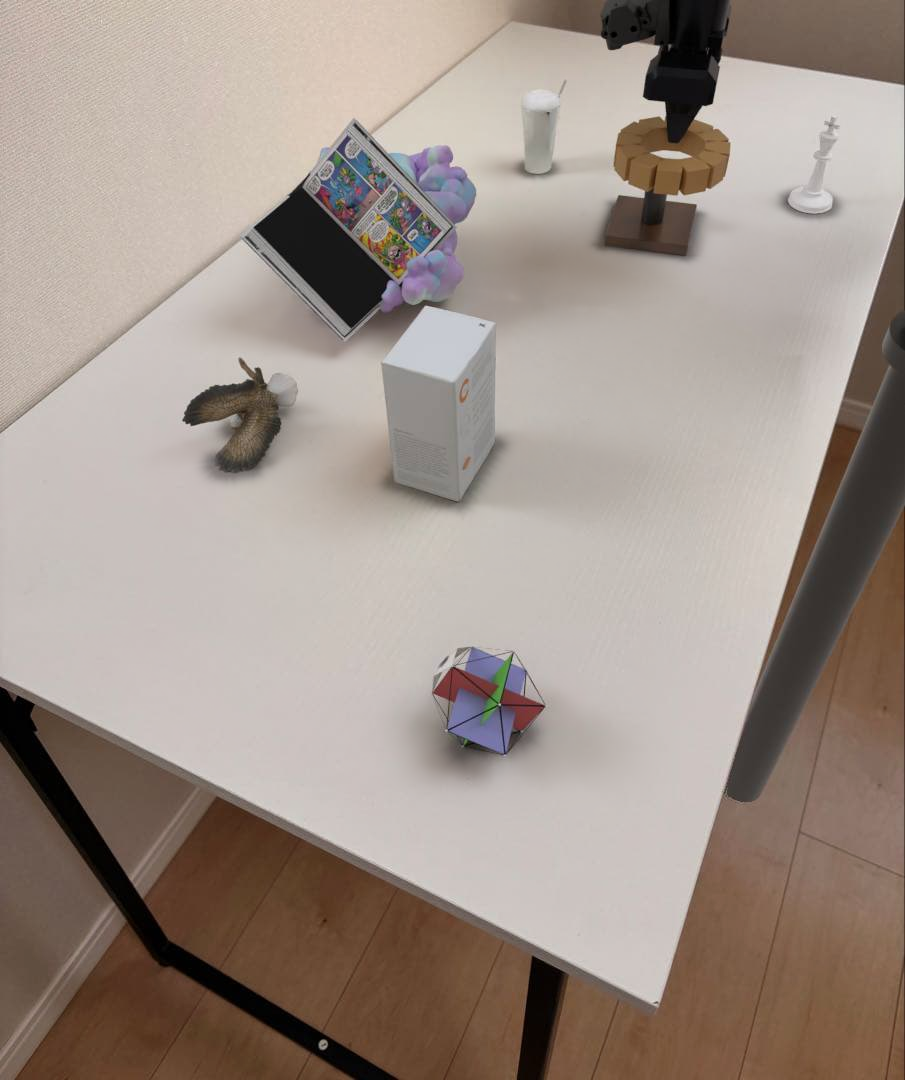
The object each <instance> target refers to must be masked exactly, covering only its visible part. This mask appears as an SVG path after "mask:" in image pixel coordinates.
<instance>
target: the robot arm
mask: <svg viewBox="0 0 905 1080" xmlns="http://www.w3.org/2000/svg"><path fill="white" fill-rule="evenodd" d="M732 8H733V7H732V5H731V0H606V1H605V2H604V3H603V6H602V8H601V11H600V13H599V18H600V21H601V26H602V28H601V32H600V36H601V39H603V40H605V43H606V47H607V50H608V51H616V50H621V49H622V47H623V46H626V45H630V44H633V43H638V42H640V41H644V40H648V39H650V38H652V37H654V41H653V46H659V47H658V51H657V54H656V55H655V56H654V57H653V58H652V59H650V61H649V63H648V67H647V71H646V73H645V77H644V85H643V91H642V97H643V98H644V99H646V101H650V102H659V103H660V102H662V103H664V105H665V106H664V108H665V116H666V122H667V136H668V142H669V143H679V142H680V141H681V139H682V137H683V136H684V134H685V133H686V131H687V129H688V128H689V126H690V125H691V123H692V121H693V120H694V119H695V118H696V117H697V115H698V114H699V113H700V111H701V109H702V108H703V107H708V106H712V105H714V100H715V95H716V90H717V84H718V80H719V74H720V69H721V66H720V65H719V64H720V63H721V60H722V55H723V50H724V49H723V48H722V45H723V41H724V38H726V37H727V34H728V28H729V23H730V19H731V13H732Z"/></svg>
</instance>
